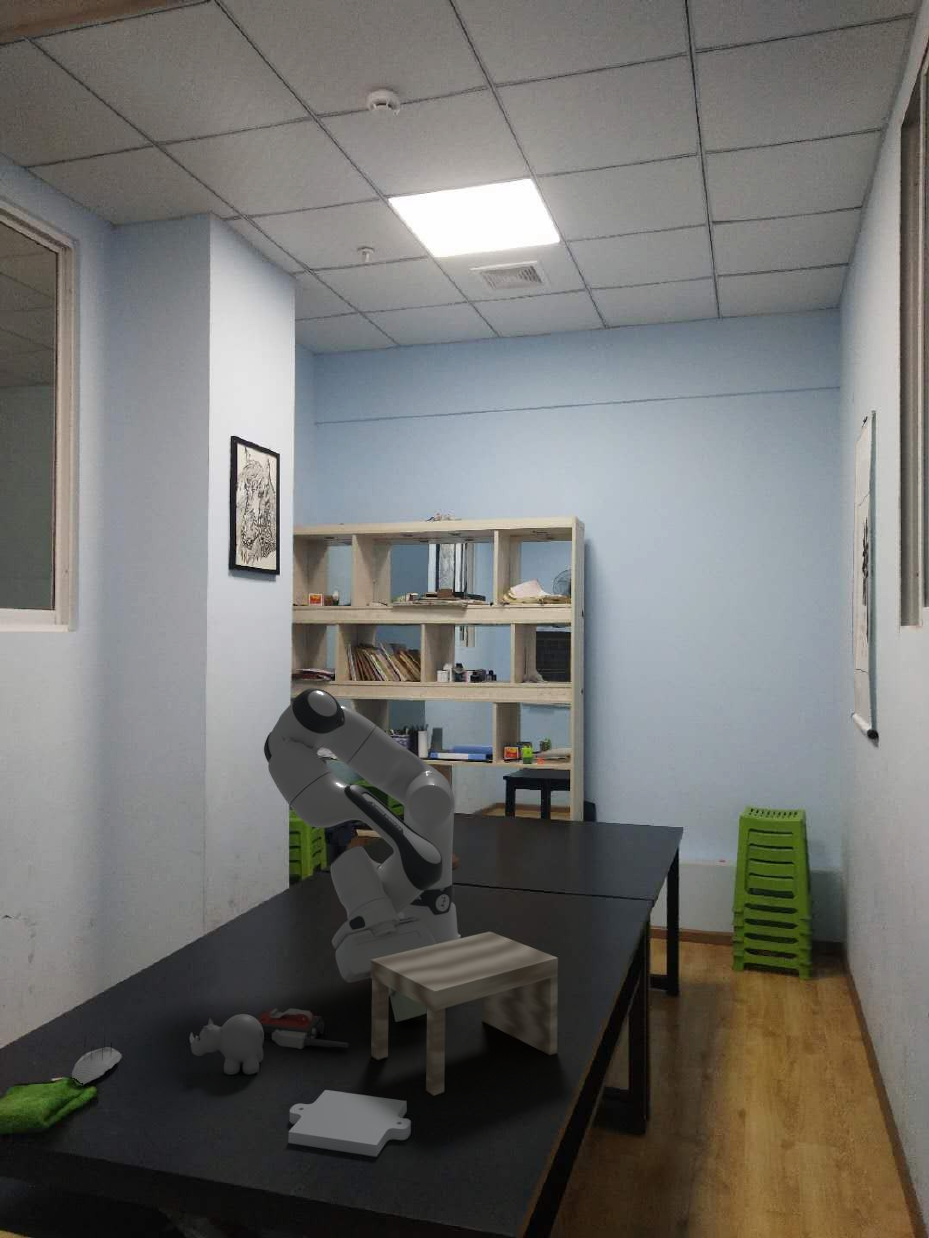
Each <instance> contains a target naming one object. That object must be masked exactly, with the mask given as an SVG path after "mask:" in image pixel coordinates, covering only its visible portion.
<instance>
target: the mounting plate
mask: <svg viewBox="0 0 929 1238" xmlns="http://www.w3.org/2000/svg"><path fill="white" fill-rule="evenodd" d="M407 1103H408V1102H407V1100H399V1099H393V1098H385V1097H381V1096H380V1097H379V1096H378V1097H377V1096H373V1095H372V1096H371V1095H365V1094H357V1093H350V1092H345V1091H337V1090H328V1089H325V1090H324V1091H323V1092H322V1093H321V1094H320V1095H319V1096H318V1098H317V1099H316V1100H315V1101H314V1102H313V1103H312V1102H311V1103H309V1104H307V1103H306V1104H305V1103H296V1104H294V1105H292V1106H291V1107H290V1109H289V1123H290V1124H293V1126H292V1127H291V1128H290V1129H289V1131H288V1144H294V1145H300V1146H306V1147H313V1148H320V1149H327V1150H332V1151H338V1152H345V1153H350V1154H357V1155H364V1156H370V1157H378V1155H379V1154H380V1153H381V1151H382V1150H383V1148H384V1146H385V1145H386V1143H387V1142H388V1141H391V1140H398V1141H405V1140H407V1139H408V1138H409V1137H410V1135H411V1131H412V1127H411V1126H412V1121H411V1120H410V1119H409V1118H406V1117H405V1118H404V1116H405V1115H406V1113H407V1112H408V1111H407V1109H408V1108H407Z"/></svg>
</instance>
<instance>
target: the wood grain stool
mask: <svg viewBox="0 0 929 1238" xmlns="http://www.w3.org/2000/svg"><path fill="white" fill-rule="evenodd" d="M558 969H559V958H558V957H557V956H554V955H551V954H550V953H547V952H543V951H542V950H539V949H537V948H533V947H531V946H529V945H526V944H523V943H520V942H519V941H516V940H512V939H510V938H509V937H506V936H502V935H500V934H497V933H495V932H492V931H486V932H482V933H478V934H473V935H469V936H465V937H462V938H460V939H456V940H452V941H448V942H443V943H439V944H435V945H431V946H427V947H422V948H418V949H414V950H410V951H405V952H401V953H397V954H393V955H388V956H384V957H380V958H376V959H371V978H370V979H371V980H372V981H371V1044H370V1045H371V1048H370V1049H371V1050H370V1051H371V1052H370V1054H371V1057H373V1058H374V1059H376V1060H382V1059H384V1058H388V1057H389V1004H390V1003H389V1002H390V1001H389V999H390V997H389V987H390V988H391V989H393V990H395V991H397V992H399V993H401V994H403V995H405V996H407V997H409V998H411V999H412V1000H414V1001H416V1002H418V1003H420V1004H422V1005H424V1006H426V1008H427V1013H426V1063H425V1064H426V1069H425V1070H426V1071H425V1072H426V1074H425V1076H426V1077H425V1078H426V1079H425V1083H426V1084H425V1091H426V1092H428V1093H429V1094H431V1095H432V1096H437V1095H439V1094H442V1093H445V1065H446V1064H445V1062H446V1061H445V1060H446V1058H445V1057H446V1055H445V1054H446V1052H445V1051H446V1049H445V1048H446V1044H445V1043H446V1009H447V1008H450V1007H454V1006H457V1005H460V1004H464V1003H467V1002H470V1001H475V1000H477V999H482V1005H481V1006H482V1007H481V1008H482V1011H481V1013H482V1014H481V1015H482V1017H481V1018H482V1019H481V1020H482V1022H483V1023H485V1024H488V1025H489V1026H491V1027H493V1028H495V1029H498V1030H499V1031H501V1032H504V1033H505V1034H508V1035H510V1037H513V1038H515V1039H517V1040H520V1041H521V1042H523V1043H525V1044H527V1045H529V1046H531V1047H533V1048H535V1049H537V1050H539V1051H541V1052H543V1053H545V1054H547V1055H549V1056H551V1055H555V1054H557V1053H558V995H559V994H558V992H559V991H558V989H559V985H558V981H559V980H558V979H559V976H558V975H559V970H558Z"/></svg>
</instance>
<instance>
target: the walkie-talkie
mask: <svg viewBox="0 0 929 1238" xmlns="http://www.w3.org/2000/svg"><path fill="white" fill-rule="evenodd" d="M253 1017H254V1018H256V1019H257V1020H258V1021H259V1022H260V1024H261V1026H262V1028H263V1032H264V1040H270V1039H272V1040H270V1041H274V1043H275V1042H276V1043H275V1044H277V1045H278V1046H279V1047H285V1048H295V1049H297V1050H298V1049H299V1050H302V1049H303V1048H305V1047H311V1046H316V1047H323V1048H333V1047H338V1048H346V1049H348V1048H349V1043H348V1042H343V1041H335V1040H325V1039H317V1038H316V1037H318V1035H322V1034H324V1031H325V1027H326V1024H325V1023H326V1022H324V1021H323V1017H322V1016H320V1015H314V1013H313V1012H312V1011H311V1010H308V1009H302V1010H301V1009H299V1008H288V1009H287V1010H285V1011H284V1012H282V1011H278V1008H274V1009H273V1010H261V1011H259V1012H258V1013H257V1014H256V1015H254V1016H253Z"/></svg>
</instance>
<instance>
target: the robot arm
mask: <svg viewBox="0 0 929 1238" xmlns="http://www.w3.org/2000/svg"><path fill="white" fill-rule="evenodd" d="M322 748H323V749H327V750H329V751H330V752H331V753H332V754H333V756H335V757H336V758H337V759H338V760H340V761H341V762H342V763H344V765H346V766H347V767H349V768H350V769H351V770H352V771H353V772H355V773H356V774H358V775H359V776H360V777H361V778H362V779H364V780H365V781H366V782H368V783H369V784H370V785H371V786H372V787H374V788H377V789H378V790H380V791H381V792H383V793H385V794H386V795H388V796H389V797H391V798H392V799H394V800H395V801H397V802H398V803H400V804H401V805H403V807H404V808H403V820H402V819H401V818H400V816H398V814H396V813H394V811H392V809H390V808H389V807H388V806H387V805H386V804H385V803H384V802H382V801H381V800H380V799H379V798H378V797H377V796H375V794H373V793H372V792H370V791H369V790H368V789H367V788H365V787H363V786H361V785H360V784H356V783H355V784H348V783H346V782H345V781H343V780H341V779H340V778H338V776H337V775H335V773H333V771H332V770H331V769H330V767H329V765H327V764H326V763H325V762H324V760H322V758H320V757H319V754H318V752H319V750H321V749H322ZM263 754H264V757H265V759H266V761H267V762H268V772H269V775H270V776H271V778H272V780H273V782H274V784H275V785H276V787H277V789H278V791H279V793H280V794H281V796H282V797H283V798H284V800H285V801H286V803H287V804H288V806H289V807H290V808H291V809H292V811H293V812H294V813H295V815H296V816H297V817H298V818H299V819H300V820H301V821H302V822H303V823H305V824H306V825H307V826H309V827H313V828H316V829H317V828H320V829H325V828H331V827H335V826H337V825H340V824H342V823H345V822H349V821H361V822H363V823H365V824H366V825H367V826H369V828H371V829H372V830H373V831H374V832H375V833H376V834H378V836H380V837H381V838H382V839H383V840H384V841H385V842H386V844H388V845H389V846H390V847H391V848H392V849H393V853H392V854H391V855H390V856H389V857H388V858H387V859H386V860H385V861H384V862H383V863H380V862H377V861H374V860H373V859H372V858H371V857H370V856H369V854H368V853H367V851H366V850H365V849H364V847H362V846H361V845H355V846H352V847H349V848H347V849H346V850H344V851H342V852H341V853H340V854H339V855H338V856H337V857H336V858H334V860H333V861H332V862H331V865H330V875H331V879H332V884H333V886H334V889H335V891H336V894H337V896H338V899H339V901H340V903H341V904H342V906H343V907H344V909H345V910H346V914H347V915H346V917H347V920H346V921H345V922H344V923H343V924H342V925H341V926H340V928H339V929H338V930H337V931H336V933H335V934H334V935H333V937H332V940H331V944H332V946H333V948H334V949H336V951H335V961H336V964H337V968H338V970H339V974H340V976H341V977H342V979H343V980H344V981H345V982H347V983H349V984H351V983H354V982H359V981H362V980H366V979H372V978H371V959H376V958H380V957H384V956H388V955H393V954H397V953H401V952H405V951H410V950H414V949H418V948H422V947H427V946H431V945H435V944H439V943H443V942H448V941H452V940H456V939H460V938H461V934H459V932H458V923H457V922H458V918H457V909H456V907H457V906H456V905H455V904H454V902H453V901H454V898H455V897H454V896H455V888H454V887H455V886H454V882H452V881H453V869H452V854H453V843H454V842H453V840H454V824H455V823H454V821H455V820H454V819H455V796H454V794H453V790H452V788H451V784H450V783H449V780H448V779H447V777H446V776H444V775H443V774H442V773H441V772H440V771H438V770H437V769H435V767H433V766H432V765H430V764H429V763H427V762H426V761H425V760H423V759H422V758H420V756H417V755H416V754H415V753H413V752H412V751H410V750H409V749H408V748H406V747H404V745H402V744H401V743H399V742H398V741H397V740H395V738H393V737H392V736H391V735H389V734H388V733H386V731H384V730H383V729H382V728H381V727H379V726H378V725H377V724H376V723H373V722H372V721H371V720H370V719H368V718H367V717H366V716H364V715H363V714H361V713H359V712H358V711H355V710H354V709H352V708H350V707H348V706H346V705H344V704H340V702H339V701H337V699H336V698H335V697H334V696H333V695H332V694H331V693H329V692H328V691H326V690H324V689H320V688H314V687H309V688H306V689H304V690H303V691H301V692H300V693H299V694H298V695H296V696H295V697H294V699H293V700H292V702H291V703H290V704H289V705H288V706H287V707H286V708H285V710H284V711H283V712H282V713H281V714H280V716H279V718H278V720H277V722H276V723H275V725H274V727H273V728H272V730H271V731H270V732H269V734H268V735H267V737H266V738H265V742H264V746H263ZM395 993H396V991H395V990H393V989H391V988H390V987H389V998H390V996H393V995H394V994H395Z"/></svg>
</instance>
